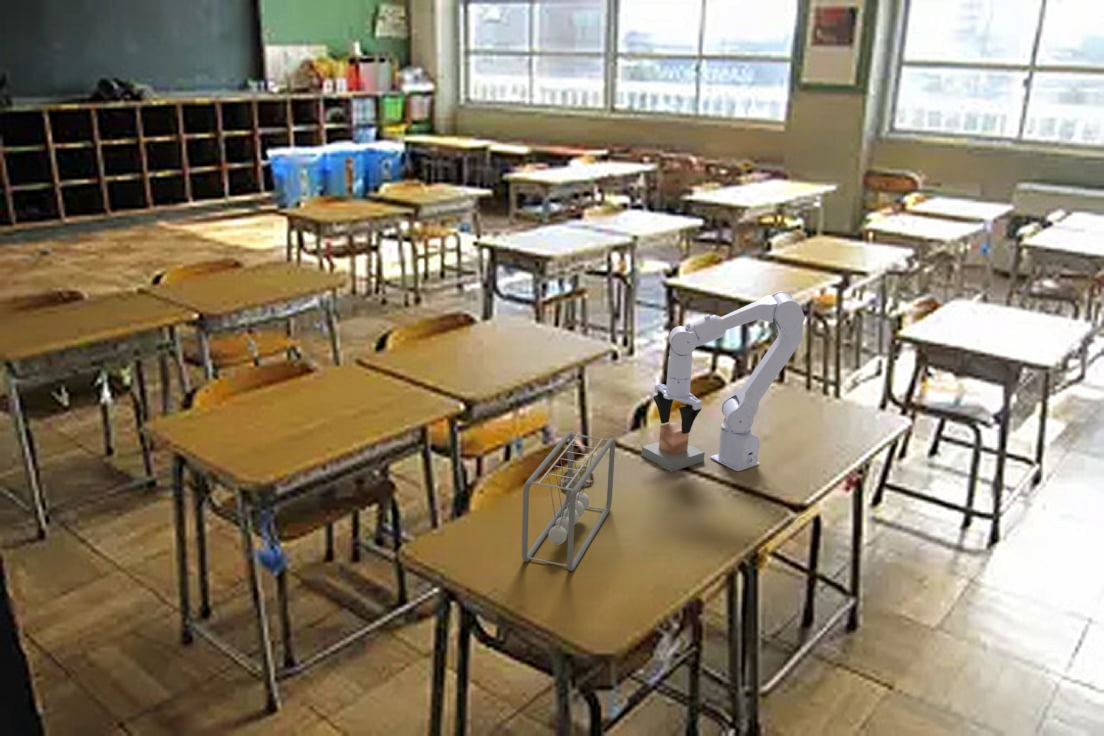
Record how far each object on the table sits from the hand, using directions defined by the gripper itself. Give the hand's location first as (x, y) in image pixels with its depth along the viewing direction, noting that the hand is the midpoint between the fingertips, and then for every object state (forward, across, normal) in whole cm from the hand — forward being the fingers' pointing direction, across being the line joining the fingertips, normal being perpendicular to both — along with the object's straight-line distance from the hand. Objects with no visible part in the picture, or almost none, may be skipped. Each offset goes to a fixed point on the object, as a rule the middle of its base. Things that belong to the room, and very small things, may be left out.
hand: (675, 427), depth 230 cm
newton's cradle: (+9, +16, -45) cm, 48 cm away
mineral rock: (+9, -3, -29) cm, 30 cm away
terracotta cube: (+6, 0, 0) cm, 6 cm away
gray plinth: (+8, 0, 0) cm, 8 cm away
